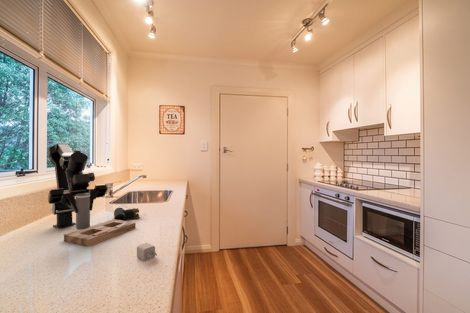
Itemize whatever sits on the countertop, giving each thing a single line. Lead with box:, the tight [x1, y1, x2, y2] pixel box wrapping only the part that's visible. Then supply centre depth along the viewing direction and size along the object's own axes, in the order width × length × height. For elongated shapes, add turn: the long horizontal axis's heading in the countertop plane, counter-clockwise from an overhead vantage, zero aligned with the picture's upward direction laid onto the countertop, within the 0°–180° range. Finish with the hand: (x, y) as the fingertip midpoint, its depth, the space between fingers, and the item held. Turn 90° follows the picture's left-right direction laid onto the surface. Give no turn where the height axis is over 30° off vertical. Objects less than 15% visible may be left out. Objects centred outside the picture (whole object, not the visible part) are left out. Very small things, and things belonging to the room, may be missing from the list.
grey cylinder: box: [75, 193, 91, 231], centre depth 86 cm, size 5×5×13 cm
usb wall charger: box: [136, 242, 158, 262], centre depth 73 cm, size 4×7×4 cm, turn 51°
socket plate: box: [63, 218, 136, 247], centre depth 95 cm, size 14×22×3 cm, turn 158°
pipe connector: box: [113, 207, 140, 221], centre depth 117 cm, size 12×5×15 cm
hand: (84, 211), depth 85 cm, fingers closed on grey cylinder, 4 cm apart
